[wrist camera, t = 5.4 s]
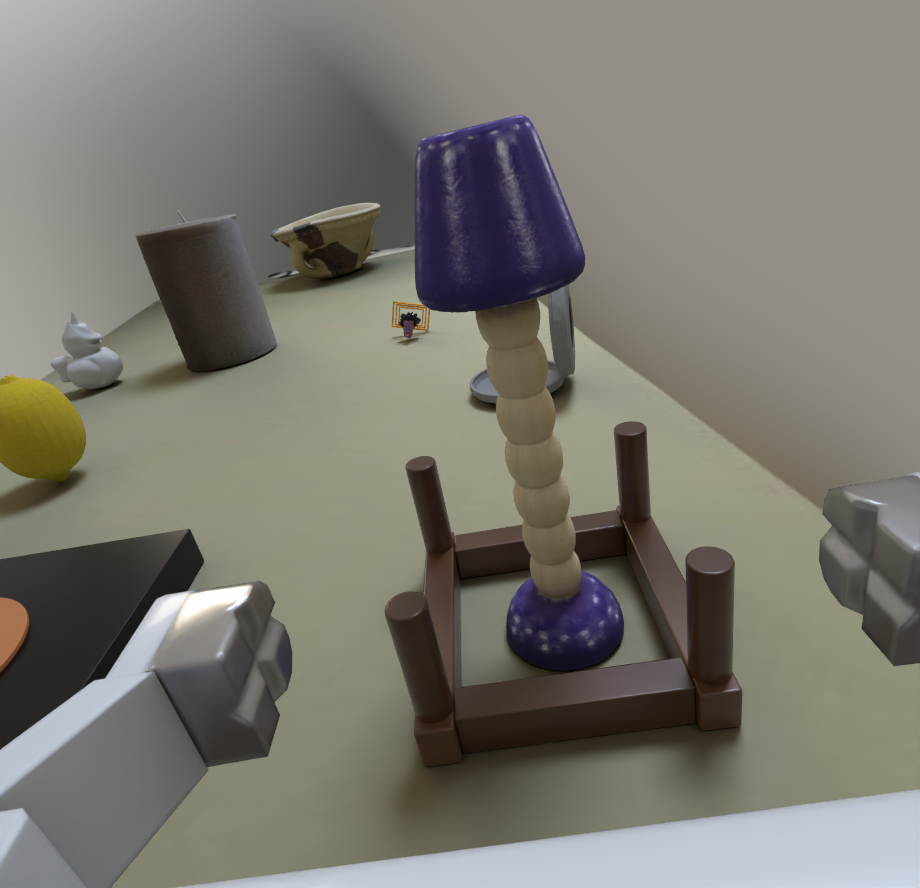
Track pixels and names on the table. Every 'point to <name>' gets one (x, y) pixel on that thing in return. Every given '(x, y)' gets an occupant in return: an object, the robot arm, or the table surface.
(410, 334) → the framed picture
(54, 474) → the lemon
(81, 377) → the rubber duck
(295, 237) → the bowl
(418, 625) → the rack
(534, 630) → the toy lamp
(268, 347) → the pillar candle
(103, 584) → the stove
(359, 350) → the table surface
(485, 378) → the pocket watch
